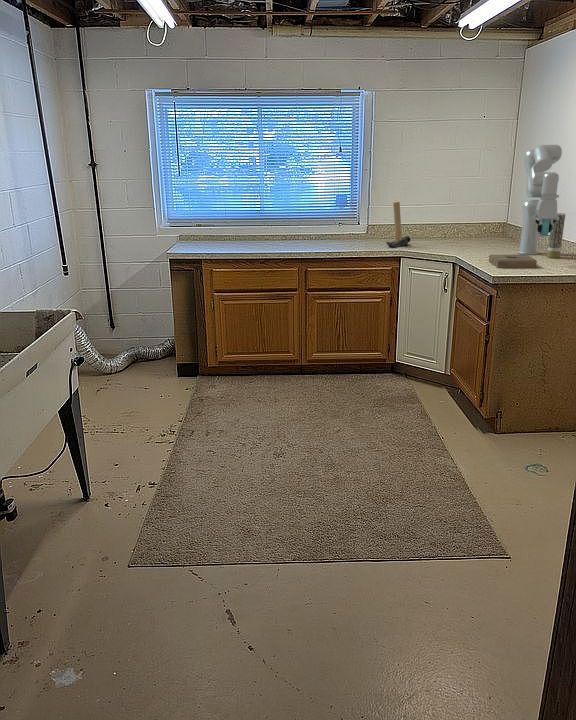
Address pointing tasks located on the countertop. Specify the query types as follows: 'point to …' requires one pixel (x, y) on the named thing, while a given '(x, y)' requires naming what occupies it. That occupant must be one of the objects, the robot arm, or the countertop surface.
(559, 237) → the bark patterned cylinder
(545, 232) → the dowel peg
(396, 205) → the hammer
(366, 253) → the countertop surface
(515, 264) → the socket block
